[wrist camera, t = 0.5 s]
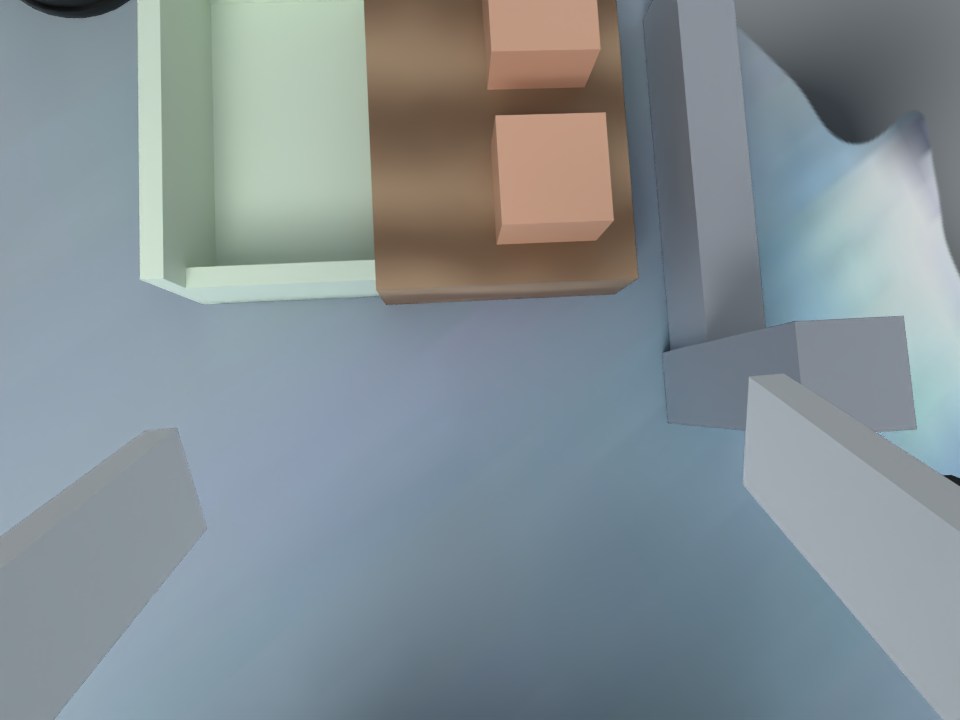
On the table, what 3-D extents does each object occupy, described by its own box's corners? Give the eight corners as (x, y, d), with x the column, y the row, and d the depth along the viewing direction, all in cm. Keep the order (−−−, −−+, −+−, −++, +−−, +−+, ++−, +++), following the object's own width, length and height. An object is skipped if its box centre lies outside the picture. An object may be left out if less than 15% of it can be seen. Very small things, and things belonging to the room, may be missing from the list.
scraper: (736, 418, 31) (917, 429, 19) (667, 422, 31) (806, 436, 19) (699, 19, 33) (843, -203, 21) (634, 20, 32) (741, -203, 20)
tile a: (596, 240, 27) (613, 220, 24) (496, 244, 27) (502, 224, 24) (588, 144, 27) (605, 112, 24) (490, 146, 27) (495, 115, 24)
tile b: (584, 87, 28) (600, 49, 25) (487, 89, 27) (491, 51, 24) (577, -5, 28) (592, -54, 25) (481, -4, 28) (485, -53, 25)
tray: (385, 295, 30) (369, 269, 24) (202, 304, 30) (140, 279, 24) (372, -8, 32) (353, -103, 26) (197, -5, 31) (136, -102, 25)
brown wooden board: (614, 294, 31) (638, 278, 27) (386, 304, 30) (376, 290, 26) (593, 13, 32) (612, -42, 28) (373, 16, 32) (362, -39, 28)
